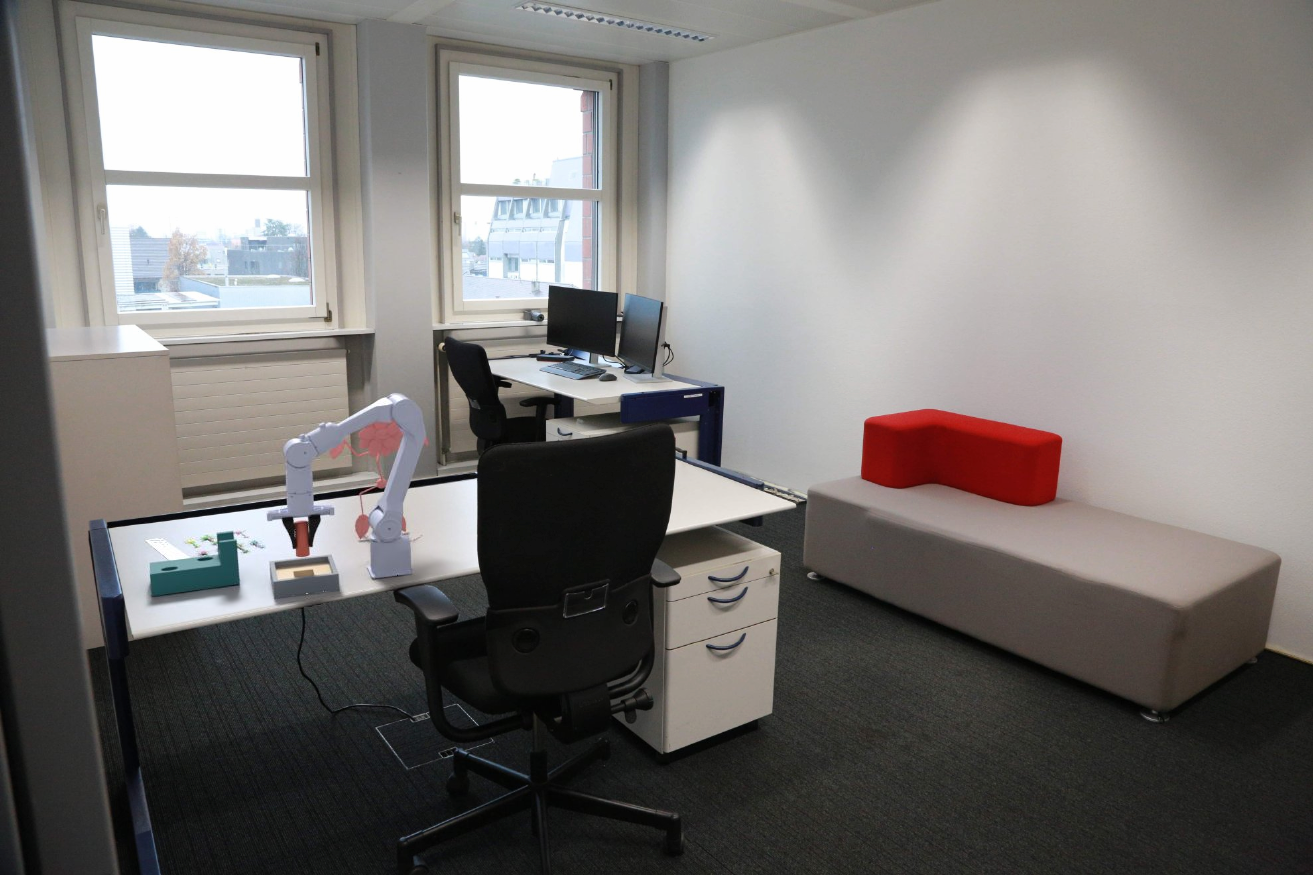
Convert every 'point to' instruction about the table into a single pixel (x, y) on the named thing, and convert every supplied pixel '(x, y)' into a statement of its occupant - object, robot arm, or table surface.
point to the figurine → (377, 441)
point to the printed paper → (173, 552)
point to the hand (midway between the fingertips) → (302, 546)
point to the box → (303, 576)
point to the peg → (302, 538)
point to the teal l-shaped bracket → (198, 570)
